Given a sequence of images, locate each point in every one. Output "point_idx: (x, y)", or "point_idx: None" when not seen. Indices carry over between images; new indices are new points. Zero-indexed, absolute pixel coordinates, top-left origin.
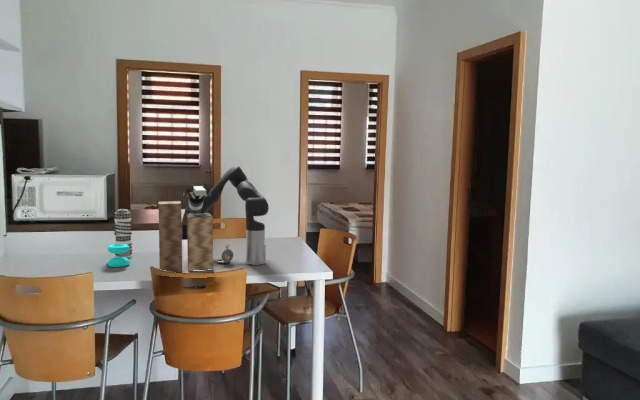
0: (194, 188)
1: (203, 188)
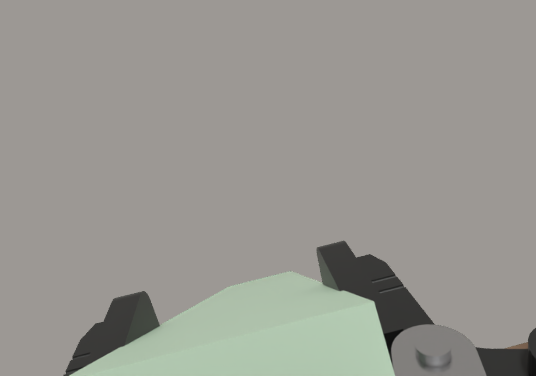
0: (301, 275)
1: (218, 295)
